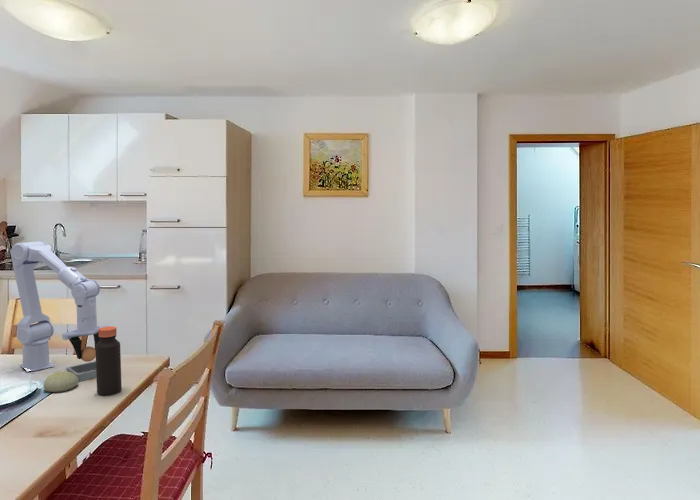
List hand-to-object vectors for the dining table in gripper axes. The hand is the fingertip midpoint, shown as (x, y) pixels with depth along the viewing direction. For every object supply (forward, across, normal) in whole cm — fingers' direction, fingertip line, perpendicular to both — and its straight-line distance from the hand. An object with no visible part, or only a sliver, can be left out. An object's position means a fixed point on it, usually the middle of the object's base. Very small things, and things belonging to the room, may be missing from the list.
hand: (88, 356), depth 158 cm
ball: (+2, 0, 0) cm, 2 cm away
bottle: (+6, -1, -20) cm, 21 cm away
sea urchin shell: (+7, -10, -6) cm, 14 cm away
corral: (+6, 0, 0) cm, 6 cm away
